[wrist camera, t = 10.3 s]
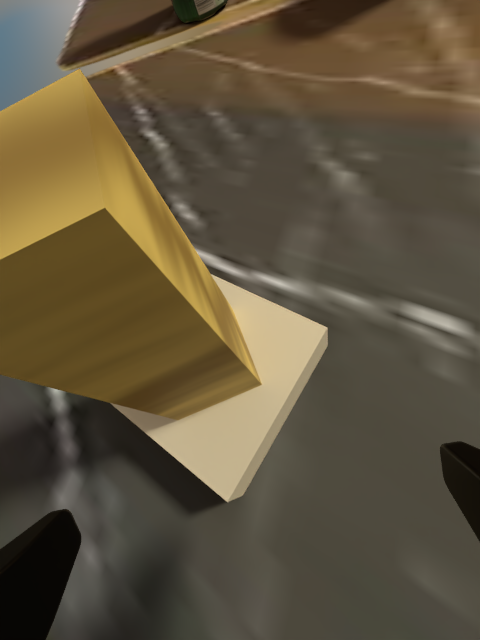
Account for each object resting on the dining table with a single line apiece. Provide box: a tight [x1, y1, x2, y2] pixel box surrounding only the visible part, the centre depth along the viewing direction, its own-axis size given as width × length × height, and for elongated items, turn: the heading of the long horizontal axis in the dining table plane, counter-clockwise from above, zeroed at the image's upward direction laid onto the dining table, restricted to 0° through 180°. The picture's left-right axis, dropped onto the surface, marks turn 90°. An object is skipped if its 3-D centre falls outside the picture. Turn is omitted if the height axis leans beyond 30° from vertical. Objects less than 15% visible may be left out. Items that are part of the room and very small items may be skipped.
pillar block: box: [0, 69, 262, 420], centre depth 12 cm, size 5×5×13 cm
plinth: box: [110, 275, 328, 502], centre depth 19 cm, size 10×10×3 cm
